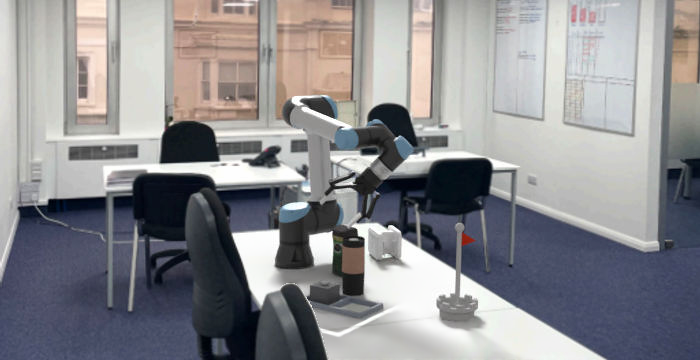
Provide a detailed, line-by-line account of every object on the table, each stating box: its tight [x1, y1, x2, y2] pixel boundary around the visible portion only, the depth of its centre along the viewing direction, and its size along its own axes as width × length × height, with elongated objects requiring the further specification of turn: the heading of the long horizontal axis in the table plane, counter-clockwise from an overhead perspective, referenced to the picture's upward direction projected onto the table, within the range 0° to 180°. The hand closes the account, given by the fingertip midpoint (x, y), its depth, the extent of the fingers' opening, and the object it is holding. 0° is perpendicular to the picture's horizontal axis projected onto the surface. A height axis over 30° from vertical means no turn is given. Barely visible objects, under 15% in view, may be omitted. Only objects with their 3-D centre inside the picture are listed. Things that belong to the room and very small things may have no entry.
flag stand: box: [436, 222, 479, 322], centre depth 255 cm, size 13×13×30 cm
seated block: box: [309, 279, 341, 305], centre depth 265 cm, size 7×7×7 cm
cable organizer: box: [367, 225, 403, 261], centre depth 326 cm, size 15×11×12 cm
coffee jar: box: [331, 223, 359, 278], centre depth 300 cm, size 10×8×19 cm
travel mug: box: [341, 235, 366, 297], centre depth 275 cm, size 8×8×20 cm
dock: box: [305, 293, 384, 320], centre depth 263 cm, size 25×13×2 cm, turn 55°
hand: (334, 215), depth 288 cm, fingers open, 13 cm apart
